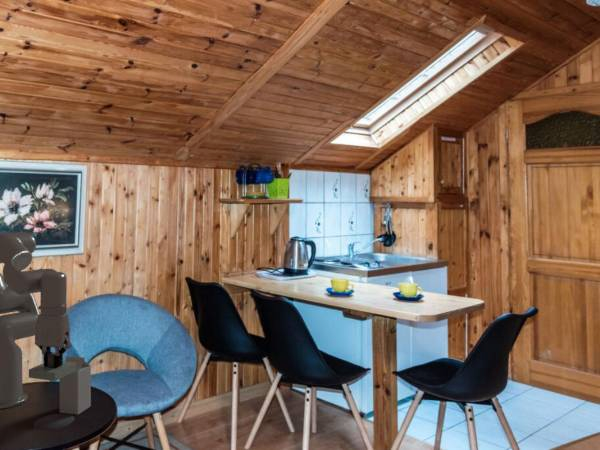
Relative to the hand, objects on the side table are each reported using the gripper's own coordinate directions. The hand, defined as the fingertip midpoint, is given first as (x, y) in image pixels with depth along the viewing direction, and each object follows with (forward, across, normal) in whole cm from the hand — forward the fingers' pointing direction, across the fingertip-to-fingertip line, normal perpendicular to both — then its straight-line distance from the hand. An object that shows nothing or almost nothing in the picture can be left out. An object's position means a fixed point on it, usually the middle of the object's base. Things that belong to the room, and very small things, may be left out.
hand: (53, 365), depth 158 cm
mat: (+19, +1, 0) cm, 19 cm away
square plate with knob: (+3, 0, 0) cm, 3 cm away
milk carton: (+19, +1, +10) cm, 22 cm away
